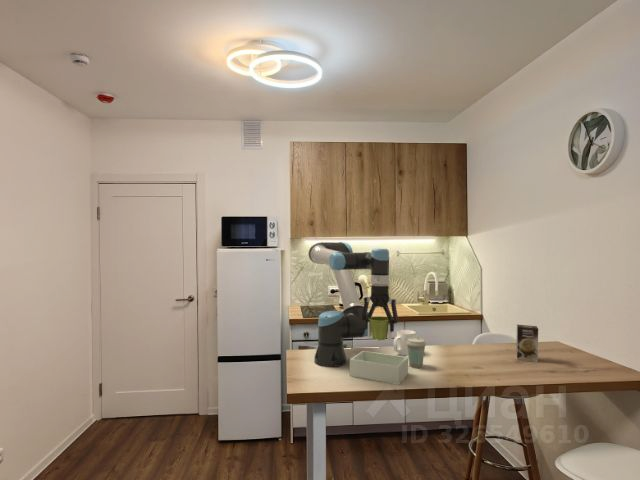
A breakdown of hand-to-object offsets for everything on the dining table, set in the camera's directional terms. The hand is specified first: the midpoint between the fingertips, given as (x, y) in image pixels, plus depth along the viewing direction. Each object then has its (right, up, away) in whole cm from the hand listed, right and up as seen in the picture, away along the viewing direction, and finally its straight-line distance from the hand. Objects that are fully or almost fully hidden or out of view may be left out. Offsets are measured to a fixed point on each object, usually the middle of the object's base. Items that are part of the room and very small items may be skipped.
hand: (379, 337), depth 171 cm
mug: (+18, -16, +33) cm, 40 cm away
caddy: (0, -16, 0) cm, 16 cm away
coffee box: (+75, -16, +23) cm, 80 cm away
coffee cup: (+18, -16, +12) cm, 27 cm away
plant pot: (0, -1, 0) cm, 1 cm away
